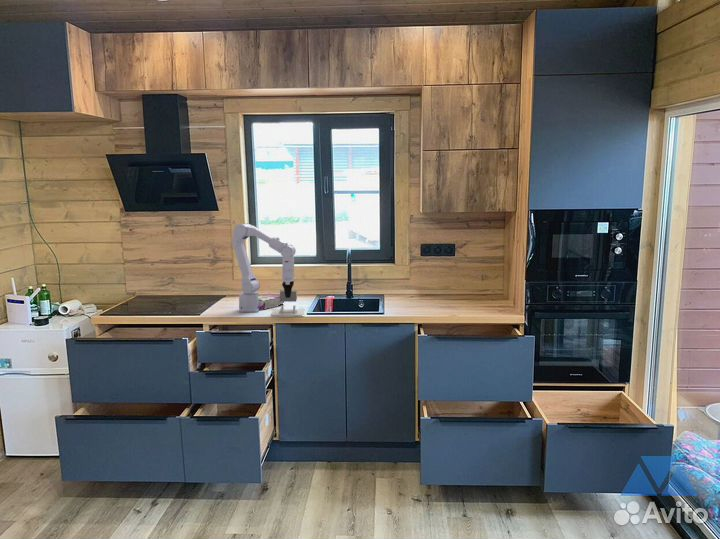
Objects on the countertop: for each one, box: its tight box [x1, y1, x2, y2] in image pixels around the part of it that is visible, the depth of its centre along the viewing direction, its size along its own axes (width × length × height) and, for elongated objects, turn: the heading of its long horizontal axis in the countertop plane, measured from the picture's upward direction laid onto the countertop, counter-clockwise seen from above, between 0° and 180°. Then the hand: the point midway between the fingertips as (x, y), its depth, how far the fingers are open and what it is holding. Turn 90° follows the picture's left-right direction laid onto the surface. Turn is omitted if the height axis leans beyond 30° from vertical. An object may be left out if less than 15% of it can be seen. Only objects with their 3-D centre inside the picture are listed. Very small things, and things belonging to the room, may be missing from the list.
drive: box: [279, 289, 298, 303], centre depth 271 cm, size 8×4×5 cm, turn 95°
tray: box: [270, 305, 305, 317], centre depth 271 cm, size 16×14×3 cm
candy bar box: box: [258, 293, 285, 310], centre depth 288 cm, size 11×5×16 cm
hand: (288, 296), depth 271 cm, fingers closed on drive, 4 cm apart
